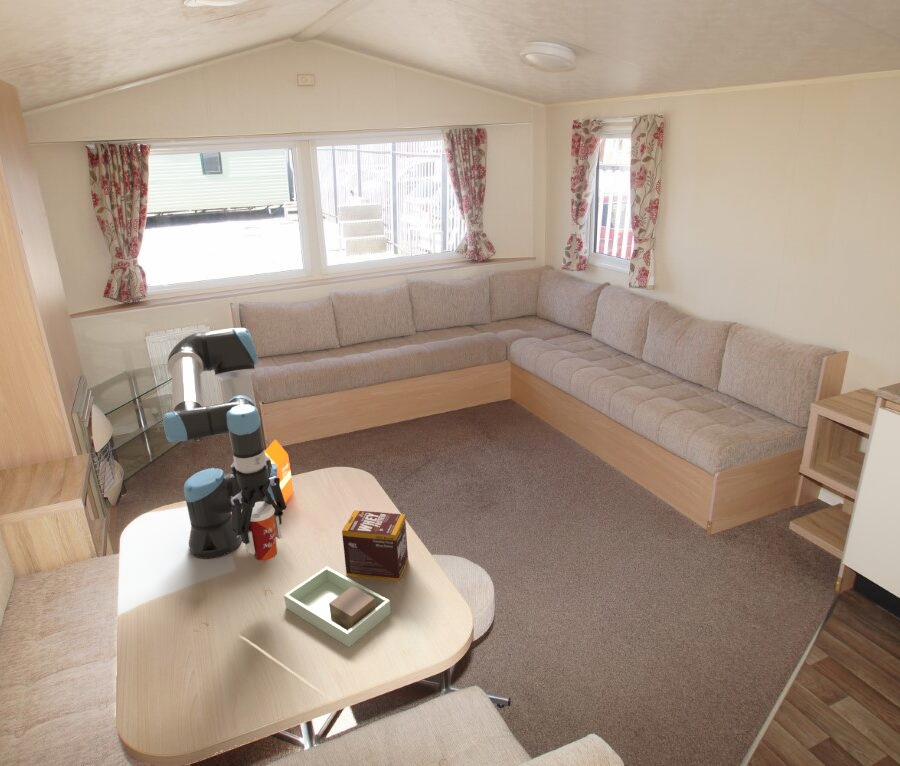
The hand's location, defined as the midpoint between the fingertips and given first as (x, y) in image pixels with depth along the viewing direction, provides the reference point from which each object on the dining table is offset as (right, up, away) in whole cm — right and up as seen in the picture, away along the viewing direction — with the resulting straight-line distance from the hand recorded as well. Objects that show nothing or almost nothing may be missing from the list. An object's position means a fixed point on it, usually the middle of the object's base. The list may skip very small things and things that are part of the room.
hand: (264, 543), depth 171 cm
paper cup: (0, -3, +1) cm, 3 cm away
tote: (+19, -17, -1) cm, 26 cm away
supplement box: (+28, -11, +15) cm, 34 cm away
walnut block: (+24, -18, -5) cm, 30 cm away
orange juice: (-10, +2, +53) cm, 54 cm away
